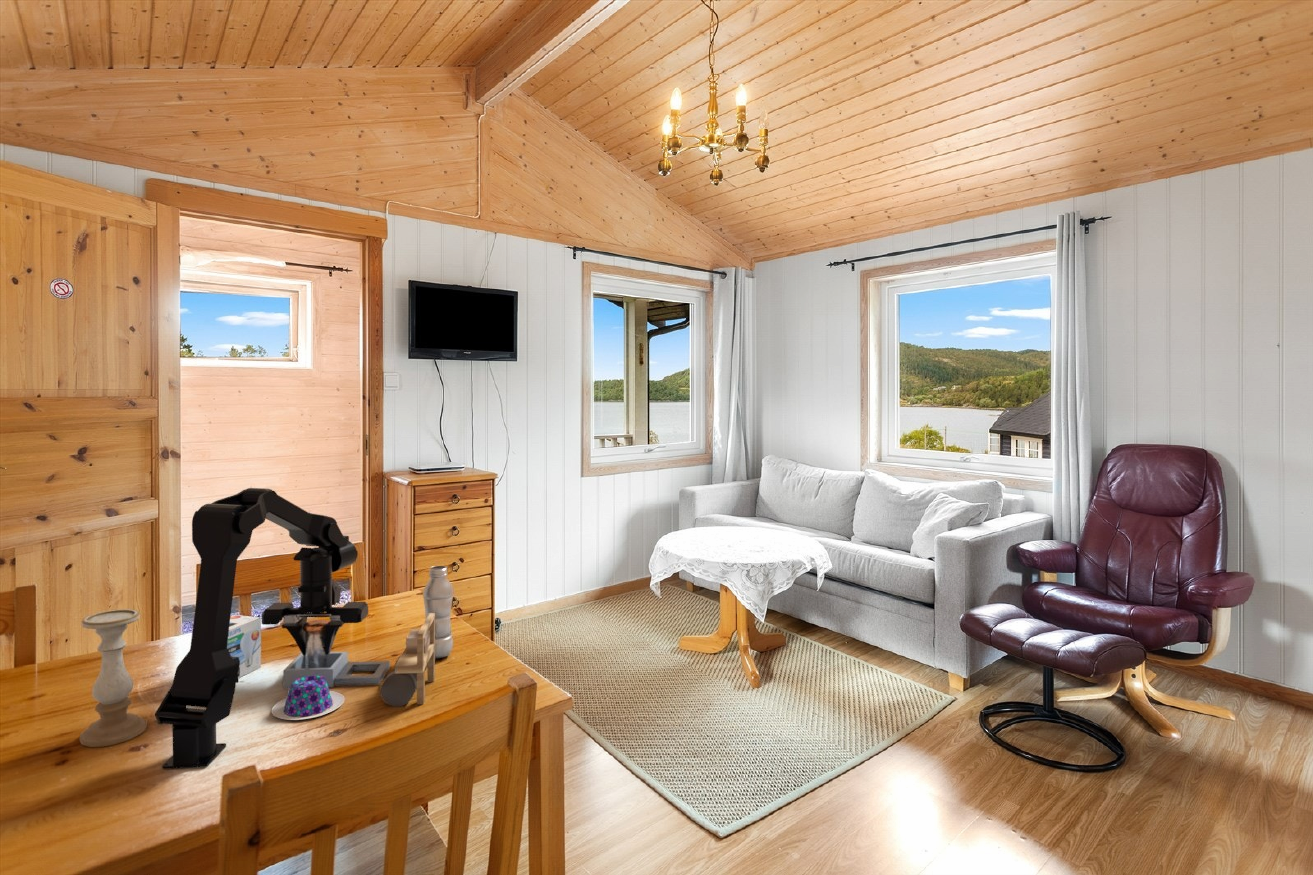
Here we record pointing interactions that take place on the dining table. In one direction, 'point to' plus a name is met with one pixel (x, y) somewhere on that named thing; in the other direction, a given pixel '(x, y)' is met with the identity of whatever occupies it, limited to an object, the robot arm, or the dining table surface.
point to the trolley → (412, 667)
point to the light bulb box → (245, 642)
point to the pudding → (308, 699)
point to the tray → (315, 669)
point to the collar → (354, 680)
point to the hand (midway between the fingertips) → (316, 654)
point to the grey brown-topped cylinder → (315, 644)
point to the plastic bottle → (440, 608)
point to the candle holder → (112, 682)
